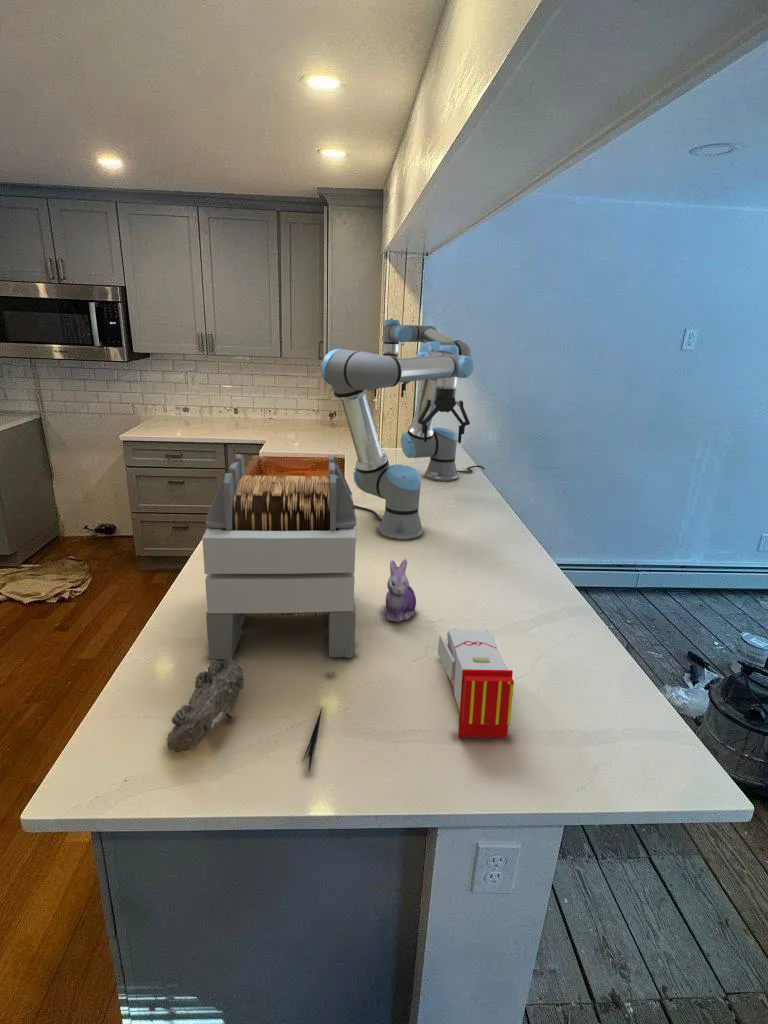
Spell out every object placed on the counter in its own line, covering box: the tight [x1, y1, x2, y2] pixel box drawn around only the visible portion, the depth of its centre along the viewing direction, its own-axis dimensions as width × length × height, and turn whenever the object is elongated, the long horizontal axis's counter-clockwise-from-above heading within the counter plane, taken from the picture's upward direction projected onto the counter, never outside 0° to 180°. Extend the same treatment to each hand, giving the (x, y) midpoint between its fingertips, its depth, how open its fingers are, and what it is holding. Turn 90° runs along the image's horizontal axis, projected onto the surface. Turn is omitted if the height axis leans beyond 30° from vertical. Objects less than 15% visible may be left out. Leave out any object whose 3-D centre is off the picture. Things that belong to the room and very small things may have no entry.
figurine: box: [384, 558, 417, 623], centre depth 145 cm, size 9×10×15 cm
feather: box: [301, 673, 332, 771], centre depth 108 cm, size 2×28×2 cm
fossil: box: [166, 658, 245, 754], centre depth 106 cm, size 22×10×15 cm
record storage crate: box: [201, 453, 357, 661], centre depth 135 cm, size 34×33×41 cm
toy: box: [437, 628, 515, 738], centre depth 117 cm, size 12×13×30 cm
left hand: (442, 442), depth 224 cm, fingers open, 13 cm apart
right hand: (388, 396), depth 284 cm, fingers open, 13 cm apart
